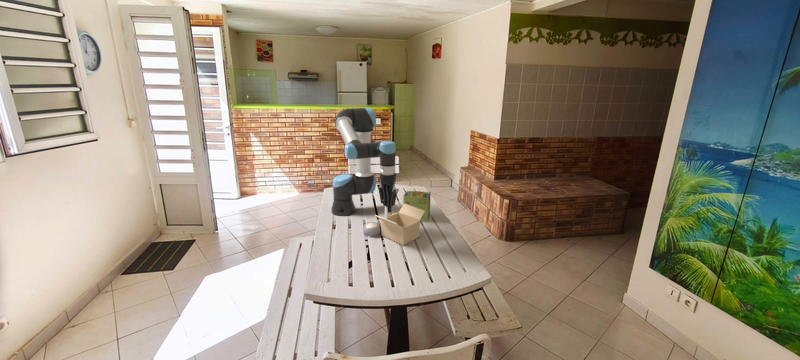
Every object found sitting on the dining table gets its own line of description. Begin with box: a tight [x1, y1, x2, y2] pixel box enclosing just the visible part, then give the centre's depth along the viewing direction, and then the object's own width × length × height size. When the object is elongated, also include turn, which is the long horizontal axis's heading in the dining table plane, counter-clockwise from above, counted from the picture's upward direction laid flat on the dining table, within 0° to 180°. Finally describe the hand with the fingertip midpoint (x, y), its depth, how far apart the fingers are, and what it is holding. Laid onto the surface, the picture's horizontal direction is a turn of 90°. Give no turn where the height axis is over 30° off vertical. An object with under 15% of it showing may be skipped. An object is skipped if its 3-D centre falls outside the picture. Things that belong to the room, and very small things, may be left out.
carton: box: [380, 211, 421, 246], centre depth 184 cm, size 17×13×10 cm
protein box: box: [402, 190, 431, 223], centre depth 208 cm, size 10×15×16 cm
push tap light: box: [363, 221, 381, 238], centre depth 188 cm, size 9×9×5 cm
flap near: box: [374, 214, 402, 229], centre depth 175 cm, size 15×6×1 cm
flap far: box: [398, 204, 425, 220], centre depth 189 cm, size 15×6×1 cm
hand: (387, 217), depth 174 cm, fingers closed
